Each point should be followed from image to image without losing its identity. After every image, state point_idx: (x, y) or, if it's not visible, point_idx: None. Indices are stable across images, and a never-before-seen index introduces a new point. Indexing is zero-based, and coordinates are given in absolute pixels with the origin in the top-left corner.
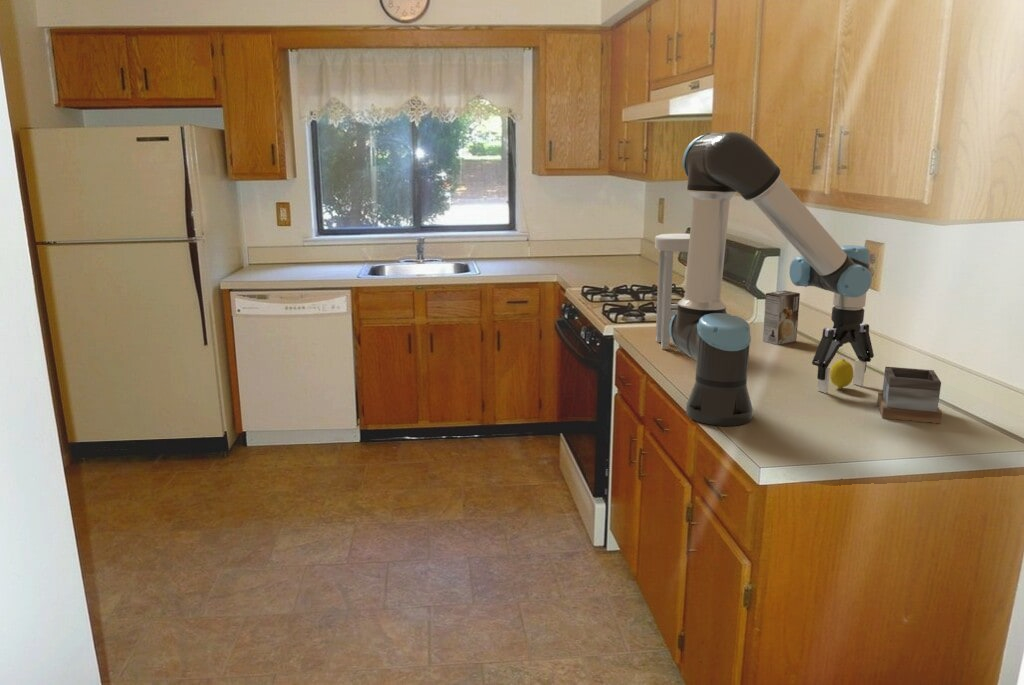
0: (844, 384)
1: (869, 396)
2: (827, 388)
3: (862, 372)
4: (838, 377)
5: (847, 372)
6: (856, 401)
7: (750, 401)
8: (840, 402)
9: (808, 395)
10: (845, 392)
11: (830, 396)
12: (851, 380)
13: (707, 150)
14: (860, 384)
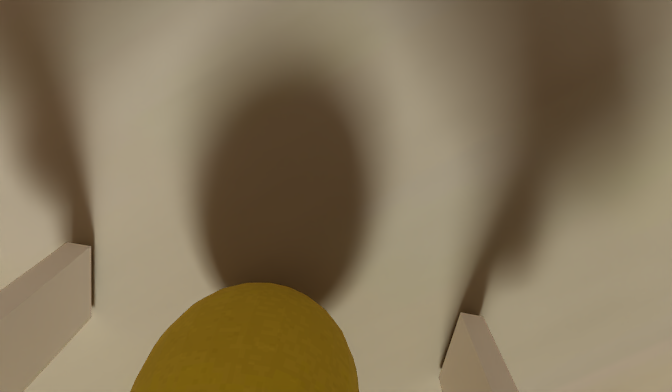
0: (307, 296)
1: (260, 62)
2: (474, 336)
3: (4, 318)
4: (355, 375)
5: (291, 366)
6: (490, 55)
7: None
8: (619, 128)
9: (609, 360)
10: (326, 243)
11: (516, 259)
12: (235, 289)
13: None
14: (84, 259)
